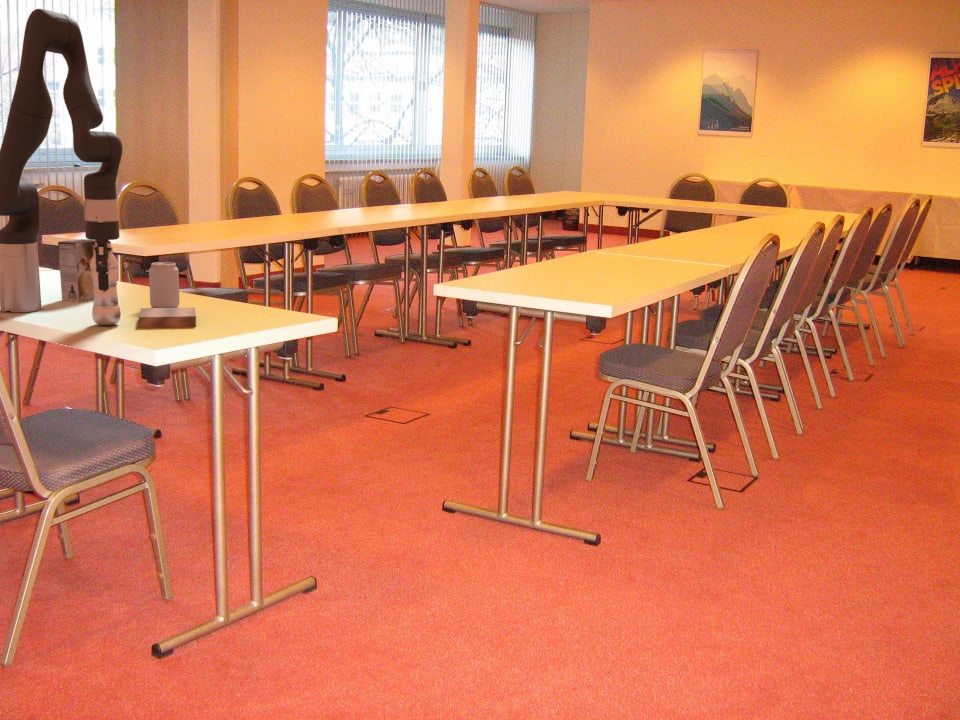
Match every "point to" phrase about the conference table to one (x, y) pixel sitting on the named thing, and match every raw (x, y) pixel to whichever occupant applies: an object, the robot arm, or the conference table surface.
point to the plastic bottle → (105, 294)
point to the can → (164, 285)
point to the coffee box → (76, 269)
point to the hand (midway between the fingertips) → (105, 287)
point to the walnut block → (167, 317)
